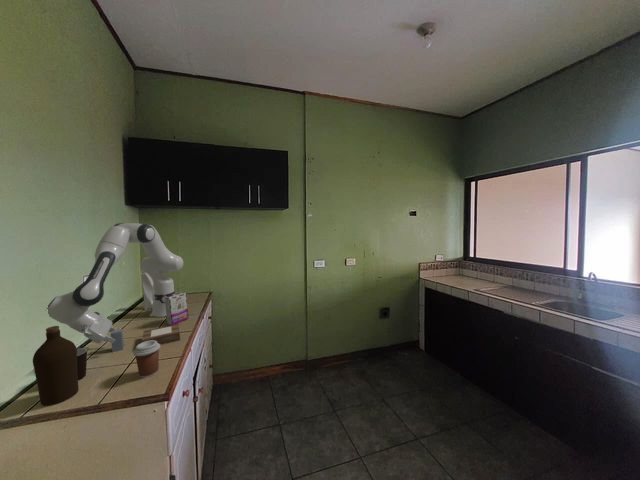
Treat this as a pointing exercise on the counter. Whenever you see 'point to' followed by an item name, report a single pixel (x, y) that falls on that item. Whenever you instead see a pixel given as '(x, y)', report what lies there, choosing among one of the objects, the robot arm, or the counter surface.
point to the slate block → (117, 340)
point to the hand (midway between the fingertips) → (116, 337)
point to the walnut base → (162, 334)
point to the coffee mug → (81, 362)
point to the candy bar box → (176, 308)
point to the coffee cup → (147, 358)
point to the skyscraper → (148, 291)
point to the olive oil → (56, 368)
